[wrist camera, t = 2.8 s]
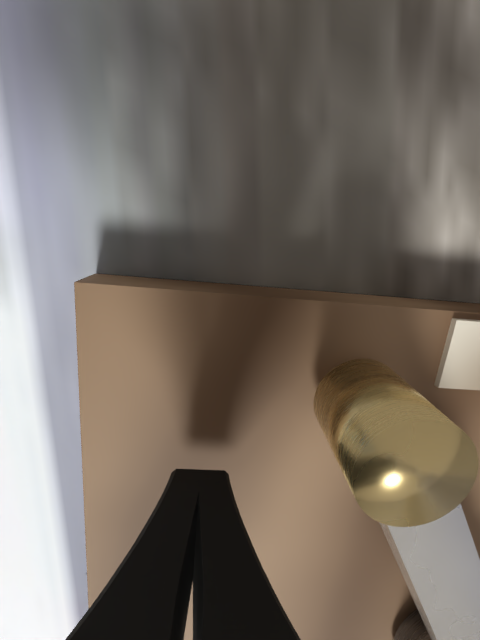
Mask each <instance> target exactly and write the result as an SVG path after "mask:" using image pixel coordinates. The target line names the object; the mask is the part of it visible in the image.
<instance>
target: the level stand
mask: <svg viewBox="0 0 480 640" xmlns="http://www.w3.org/2000/svg"><path fill="white" fill-rule="evenodd" d="M74 287H75V309H76V332H77V355H78V378H79V400H80V423H81V446H82V468H83V491H84V514H85V536H86V559H87V582H88V604H89V608H90V607H91V605H92V604H93V603H94V601H95V600H96V599H97V597H98V596H99V594H100V593H101V592H102V590H103V589H104V587H105V586H106V585H107V583H108V582H109V580H110V579H111V577H112V576H113V574H114V573H115V571H116V570H117V568H118V567H119V565H120V564H121V562H122V561H123V559H124V558H125V556H126V555H127V553H128V552H129V550H130V549H131V547H132V546H133V544H134V543H135V541H136V539H137V538H138V536H139V534H140V533H141V531H142V529H143V528H144V526H145V524H146V523H147V521H148V519H149V517H150V516H151V514H152V512H153V510H154V509H155V507H156V505H157V503H158V501H159V499H160V497H161V495H162V493H163V491H164V489H165V487H166V485H167V483H168V480H169V478H170V475H171V473H172V472H173V471H174V470H175V469H200V470H225V471H226V472H227V473H228V474H229V479H230V483H231V487H232V491H233V494H234V498H235V501H236V504H237V507H238V509H239V512H240V515H241V518H242V520H243V523H244V526H245V528H246V530H247V533H248V535H249V538H250V540H251V542H252V545H253V547H254V549H255V552H256V554H257V556H258V558H259V561H260V563H261V565H262V567H263V569H264V571H265V573H266V575H267V577H268V579H269V581H270V584H271V586H272V588H273V590H274V592H275V594H276V595H277V597H278V599H279V601H280V603H281V605H282V607H283V609H284V611H285V613H286V614H287V616H288V618H289V620H290V622H291V623H292V625H293V627H294V629H295V631H296V632H297V634H298V636H299V638H300V639H301V640H394V637H395V634H396V632H397V630H398V628H399V626H400V625H401V623H402V622H403V621H404V620H405V618H406V617H407V616H408V615H409V614H411V613H412V612H413V611H414V610H415V609H417V607H416V604H415V602H414V600H413V598H412V595H411V593H410V591H409V589H408V586H407V584H406V582H405V579H404V577H403V575H402V573H401V570H400V568H399V566H398V564H397V561H396V559H395V557H394V554H393V552H392V550H391V548H390V545H389V543H388V541H387V539H386V536H385V534H384V532H383V529H382V527H381V525H380V523H379V522H378V521H376V520H374V519H372V518H371V517H369V516H368V515H367V514H366V513H365V512H364V511H363V510H362V509H361V508H360V506H359V505H358V503H357V501H356V499H355V497H354V495H353V493H352V491H351V489H350V487H349V485H348V483H347V481H346V479H345V477H344V474H343V472H342V470H341V468H340V466H339V464H338V462H337V460H336V458H335V456H334V454H333V452H332V450H331V448H330V446H329V444H328V441H327V439H326V437H325V435H324V433H323V431H322V429H321V427H320V425H319V423H318V421H317V419H316V416H315V413H314V405H313V403H314V396H315V392H316V389H317V387H318V385H319V383H320V382H321V380H322V379H323V378H324V377H325V376H326V374H327V373H329V372H330V371H331V370H332V369H334V368H335V367H337V366H338V365H340V364H342V363H345V362H347V361H351V360H355V359H371V360H376V361H379V362H381V363H383V364H385V365H387V366H388V367H390V368H391V369H392V370H393V371H394V372H395V373H397V374H398V375H399V376H400V377H401V378H402V379H404V380H405V381H406V382H407V383H408V384H409V385H411V386H412V387H413V388H414V389H415V390H416V391H417V392H419V393H420V394H421V395H422V396H423V397H424V398H426V399H427V400H428V401H429V402H430V403H431V404H433V405H434V406H435V407H436V408H437V409H438V410H440V411H441V412H442V413H443V414H444V415H445V416H447V417H448V418H449V419H450V420H451V421H452V422H453V423H455V424H456V425H457V426H458V427H459V428H460V429H462V430H463V431H464V432H465V433H466V434H467V435H468V436H469V437H470V438H471V440H472V441H473V443H474V445H475V447H476V450H477V453H478V458H479V467H478V474H477V478H476V480H475V483H474V485H473V487H472V489H471V491H470V492H469V494H468V495H467V496H466V498H465V499H464V500H463V501H462V502H461V506H462V509H463V512H464V515H465V518H466V521H467V524H468V527H469V530H470V532H471V535H472V538H473V541H474V544H475V547H476V550H477V553H478V556H479V559H480V304H477V303H465V302H452V301H439V300H426V299H414V298H401V297H388V296H375V295H362V294H350V293H337V292H324V291H311V290H299V289H286V288H273V287H260V286H248V285H235V284H222V283H209V282H197V281H184V280H171V279H158V278H146V277H133V276H120V275H107V274H93V275H91V276H88V277H86V278H84V279H81V280H79V281H76V282H74ZM184 640H193V582H192V589H191V595H190V602H189V608H188V614H187V621H186V627H185V633H184Z"/></svg>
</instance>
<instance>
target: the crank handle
mask: <svg viewBox="0 0 480 640" xmlns="http://www.w3.org/2000/svg"><path fill="white" fill-rule="evenodd" d="M313 405H314V413H315V416H316V419H317V421H318V423H319V425H320V427H321V429H322V431H323V433H324V435H325V437H326V439H327V441H328V444H329V446H330V448H331V450H332V452H333V454H334V456H335V458H336V460H337V462H338V464H339V466H340V468H341V470H342V472H343V474H344V477H345V479H346V481H347V483H348V485H349V487H350V489H351V491H352V493H353V495H354V497H355V499H356V501H357V503H358V505H359V506H360V508H361V509H362V510H363V511H364V512H365V513H366V514H367V515H368V516H369V517H371V518H372V519H374V520H376V521H378V522H379V523H380V525H381V527H382V529H383V532H384V534H385V536H386V539H387V541H388V543H389V545H390V548H391V550H392V552H393V554H394V557H395V559H396V561H397V564H398V566H399V568H400V570H401V573H402V575H403V577H404V579H405V582H406V584H407V586H408V589H409V591H410V593H411V595H412V598H413V600H414V602H415V604H416V607H417V609H415V610H414V611H413V612H412V613H411V614H409V615H408V616H407V617H406V618H405V620H404V621H403V622H402V623H401V625H400V626H399V628H398V630H397V632H396V634H395V637H394V640H480V559H479V556H478V553H477V550H476V547H475V544H474V541H473V538H472V535H471V532H470V530H469V527H468V524H467V521H466V518H465V515H464V512H463V509H462V506H461V502H462V501H463V500H464V499H465V498H466V496H467V495H468V494H469V492H470V491H471V489H472V487H473V485H474V483H475V480H476V478H477V474H478V467H479V458H478V453H477V450H476V447H475V445H474V443H473V441H472V440H471V438H470V437H469V436H468V435H467V434H466V433H465V432H464V431H463V430H462V429H460V428H459V427H458V426H457V425H456V424H455V423H453V422H452V421H451V420H450V419H449V418H448V417H447V416H445V415H444V414H443V413H442V412H441V411H440V410H438V409H437V408H436V407H435V406H434V405H433V404H431V403H430V402H429V401H428V400H427V399H426V398H424V397H423V396H422V395H421V394H420V393H419V392H417V391H416V390H415V389H414V388H413V387H412V386H411V385H409V384H408V383H407V382H406V381H405V380H404V379H402V378H401V377H400V376H399V375H398V374H397V373H395V372H394V371H393V370H392V369H391V368H390V367H388V366H387V365H385V364H383V363H381V362H379V361H376V360H371V359H355V360H351V361H347V362H345V363H342V364H340V365H338V366H337V367H335V368H334V369H332V370H331V371H330V372H329V373H327V374H326V376H325V377H324V378H323V379H322V380H321V382H320V383H319V385H318V387H317V389H316V392H315V396H314V403H313Z"/></svg>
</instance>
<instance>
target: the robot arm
mask: <svg viewBox="0 0 480 640" xmlns="http://www.w3.org/2000/svg"><path fill="white" fill-rule="evenodd" d="M192 582H193V640H301V639H300V638H299V636H298V634H297V632H296V631H295V629H294V627H293V625H292V623H291V622H290V620H289V618H288V616H287V614H286V613H285V611H284V609H283V607H282V605H281V603H280V601H279V599H278V597H277V595H276V594H275V592H274V590H273V588H272V586H271V584H270V581H269V579H268V577H267V575H266V573H265V571H264V569H263V567H262V565H261V563H260V561H259V558H258V556H257V554H256V552H255V549H254V547H253V545H252V542H251V540H250V538H249V535H248V533H247V530H246V528H245V526H244V523H243V520H242V518H241V515H240V512H239V509H238V507H237V504H236V501H235V498H234V494H233V491H232V487H231V483H230V479H229V474H228V473H227V472H226V471H225V470H200V469H175V470H174V471H173V472H172V473H171V475H170V478H169V480H168V483H167V485H166V487H165V489H164V491H163V493H162V495H161V497H160V499H159V501H158V503H157V505H156V507H155V509H154V510H153V512H152V514H151V516H150V517H149V519H148V521H147V523H146V524H145V526H144V528H143V529H142V531H141V533H140V534H139V536H138V538H137V539H136V541H135V543H134V544H133V546H132V547H131V549H130V550H129V552H128V553H127V555H126V556H125V558H124V559H123V561H122V562H121V564H120V565H119V567H118V568H117V570H116V571H115V573H114V574H113V576H112V577H111V579H110V580H109V582H108V583H107V585H106V586H105V587H104V589H103V590H102V592H101V593H100V594H99V596H98V597H97V599H96V600H95V601H94V603H93V604H92V605H91V607H90V608H89V610H88V611H87V612H86V614H85V615H84V616H83V618H82V619H81V620H80V621H79V623H78V624H77V625H76V627H75V628H74V629H73V631H72V632H71V633H70V634H69V636H68V637H67V638H66V640H184V633H185V627H186V621H187V614H188V608H189V602H190V595H191V589H192Z"/></svg>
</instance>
